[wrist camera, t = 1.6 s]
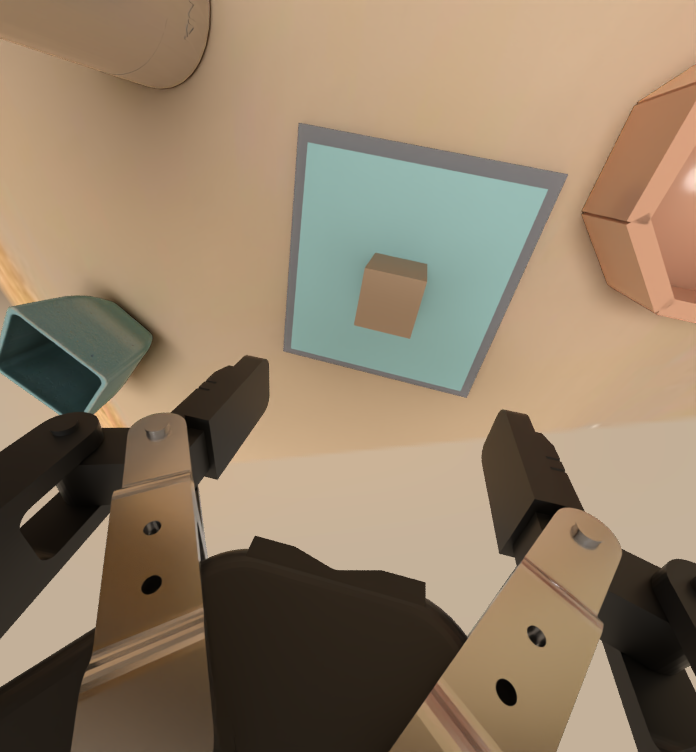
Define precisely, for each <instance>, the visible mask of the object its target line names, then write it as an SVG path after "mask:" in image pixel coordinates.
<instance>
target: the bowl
mask: <svg viewBox="0 0 696 752" xmlns="http://www.w3.org/2000/svg"><path fill="white" fill-rule="evenodd" d="M582 211H583V212H584V213H583V214H582V217H583V220H584V222H585V225H586V228H587V231H588V233H589V236H590V239H591V241H592V244H593V247H594V250H595V252H596V255H597V258H598V260H599V263H600V266H601V269H602V271H603V274H604V277H605V279H606V282H607V284H608V285H609V286H610V287H612V288H614V289H615V290H617V291H619V292H620V293H622V294H624V295H625V296H627V297H629V298H630V299H632V300H634V301H635V302H637V303H639V304H640V305H642V306H644V307H645V308H647V309H649V310H650V311H652V312H653V313H655V314H657V315H661V316H666V317H670V318H675V319H679V320H684V321H688V322H693V323H696V64H695V65H694V66H692V67H691V68H689V69H688V70H686V71H685V72H683V73H681V74H680V75H678V76H677V77H675V78H674V79H672V80H671V81H669V82H668V83H666V84H665V85H663V86H662V87H660V88H659V89H657V90H655V91H654V92H652V93H651V94H649V95H648V96H646V97H645V98H643V99H642V100H640V101H639V102H638V105H635V106H634V107H633V109H632V111H631V113H630V115H629V117H628V119H627V122H626V124H625V126H624V128H623V130H622V132H621V134H620V136H619V138H618V140H617V142H616V144H615V146H614V148H613V150H612V152H611V154H610V156H609V158H608V160H607V162H606V164H605V166H604V168H603V170H602V172H601V174H600V176H599V178H598V180H597V182H596V184H595V186H594V188H593V190H592V192H591V194H590V196H589V198H588V200H587V202H586V204H585V206H584V208H583V210H582Z"/></svg>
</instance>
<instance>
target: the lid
mask: <svg viewBox="0 0 696 752" xmlns="http://www.w3.org/2000/svg"><path fill="white" fill-rule="evenodd" d="M547 191H548V189H543V188H538V187H533V186H528V185H523V184H518V183H513V182H508V181H503V180H498V179H492V178H487V177H482V176H477V175H472V174H467V173H462V172H457V171H452V170H447V169H442V168H436V167H431V166H426V165H421V164H416V163H411V162H406V161H401V160H396V159H391V158H386V157H380V156H375V155H370V154H365V153H360V152H355V151H350V150H345V149H340V148H335V147H330V146H324V145H319V144H314V143H309V142H308V145H307V158H306V170H305V182H304V194H303V206H302V219H301V231H300V243H299V255H298V268H297V280H296V292H295V304H294V316H293V329H292V341H291V348H292V349H296V350H300V351H304V352H308V353H311V354H315V355H319V356H323V357H327V358H331V359H335V360H339V361H343V362H347V363H351V364H355V365H359V366H363V367H367V368H371V369H375V370H379V371H383V372H386V373H390V374H394V375H398V376H402V377H406V378H410V379H414V380H418V381H422V382H426V383H430V384H434V385H438V386H442V387H446V388H450V389H454V390H458V391H461V389H462V386H463V384H464V382H465V380H466V377H467V375H468V373H469V370H470V368H471V366H472V363H473V361H474V359H475V357H476V354H477V352H478V350H479V347H480V345H481V343H482V340H483V338H484V336H485V334H486V331H487V329H488V327H489V324H490V322H491V320H492V317H493V315H494V313H495V311H496V308H497V306H498V304H499V301H500V299H501V297H502V294H503V292H504V290H505V288H506V285H507V283H508V281H509V278H510V276H511V274H512V271H513V269H514V267H515V265H516V262H517V260H518V258H519V255H520V253H521V251H522V249H523V246H524V244H525V242H526V239H527V237H528V235H529V232H530V230H531V228H532V226H533V223H534V221H535V219H536V216H537V214H538V212H539V209H540V207H541V205H542V203H543V200H544V198H545V196H546V193H547Z"/></svg>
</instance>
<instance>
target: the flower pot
mask: <svg viewBox="0 0 696 752" xmlns="http://www.w3.org/2000/svg"><path fill="white" fill-rule="evenodd" d="M151 342H152V334H151V333H150V332H149V331H148V330H146V329H145V328H144V327H143V326H142V325H140V324H139V323H138V322H137V321H136V320H134V319H133V318H132V317H131V316H130V315H128V314H127V313H126V312H125V311H124V310H123V309H122V308H120V307H119V306H118V305H117V304H116V303H114V302H111V301H108V300H105V299H101V298H96V297H90V296H65V297H59V298H53V299H48V300H43V301H38V302H32V303H27V304H22V305H17V306H11V307H9V308H8V309H7V312H6V316H5V319H4V323H3V328H2V331H1V336H0V373H1V374H3V375H4V376H6V377H7V378H8V379H10V380H11V381H13V382H14V383H15V384H17V385H18V386H20V387H21V388H23V389H24V390H25V391H27V392H28V393H30V394H31V395H33V396H34V397H35V398H37V399H38V400H39V401H41V402H42V403H44V404H45V405H47V406H48V407H49V408H51V409H52V410H54V411H55V412H56V413H58V414H59V415H62V414H66V413H72V412H87V413H91V414H94V413H96V412H97V411H98V410H99V409H100V408H101V407H102V406H103V405H104V404H106V403H107V402H108V401H109V400H110V399H111V398H112V397H113V396H114V395H115V394H116V393H117V392H118V391H119V390H120V389H121V388H122V386H123V385H124V384H125V383H126V381H127V380H128V378H129V377H130V375H131V374H132V372H133V371H134V369H135V368H136V366H137V365H138V363H139V362H140V361H141V359H142V358H143V356H144V355H145V354H146V352H147V351H148V349H149V348H150V345H151Z"/></svg>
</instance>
